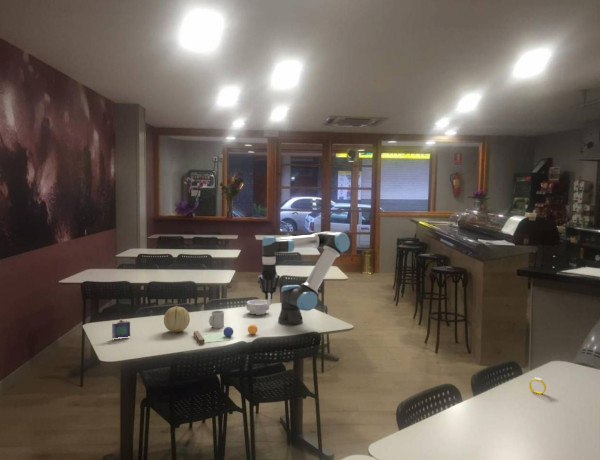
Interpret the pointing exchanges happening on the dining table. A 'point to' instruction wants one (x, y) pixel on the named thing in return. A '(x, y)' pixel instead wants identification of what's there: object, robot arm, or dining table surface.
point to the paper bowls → (257, 306)
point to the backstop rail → (199, 337)
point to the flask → (121, 329)
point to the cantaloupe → (176, 319)
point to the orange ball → (252, 329)
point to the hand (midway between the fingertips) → (268, 304)
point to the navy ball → (228, 331)
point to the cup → (217, 319)
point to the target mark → (215, 338)
